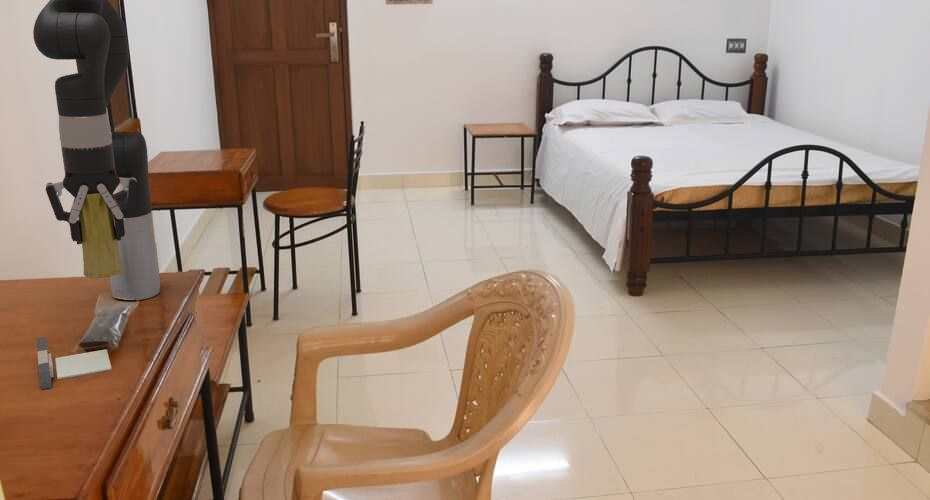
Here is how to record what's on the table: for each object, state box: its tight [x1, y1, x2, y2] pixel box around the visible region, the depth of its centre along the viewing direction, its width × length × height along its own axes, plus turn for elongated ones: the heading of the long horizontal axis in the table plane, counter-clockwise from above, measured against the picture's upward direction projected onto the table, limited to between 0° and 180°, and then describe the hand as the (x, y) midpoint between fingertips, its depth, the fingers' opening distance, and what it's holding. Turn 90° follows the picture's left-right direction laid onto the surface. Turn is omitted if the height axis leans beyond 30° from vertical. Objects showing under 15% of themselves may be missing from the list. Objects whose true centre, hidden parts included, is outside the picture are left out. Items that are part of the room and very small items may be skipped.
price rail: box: [35, 336, 55, 390], centre depth 131 cm, size 14×2×3 cm, turn 28°
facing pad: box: [55, 348, 113, 380], centre depth 133 cm, size 8×8×1 cm
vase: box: [78, 193, 123, 279], centre depth 134 cm, size 6×6×14 cm
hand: (99, 240), depth 134 cm, fingers closed on vase, 5 cm apart
